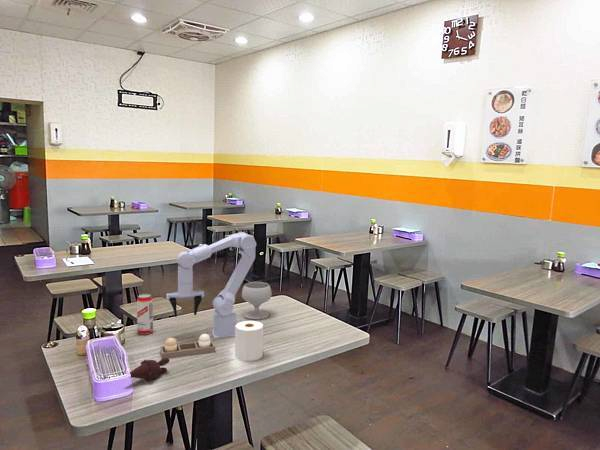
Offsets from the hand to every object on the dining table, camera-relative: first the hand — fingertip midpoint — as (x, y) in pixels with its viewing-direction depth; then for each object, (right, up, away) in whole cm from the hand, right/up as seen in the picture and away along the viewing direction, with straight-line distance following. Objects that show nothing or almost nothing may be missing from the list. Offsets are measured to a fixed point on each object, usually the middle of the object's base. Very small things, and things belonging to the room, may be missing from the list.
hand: (185, 315), depth 176 cm
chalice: (+25, -7, +32) cm, 41 cm away
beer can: (-19, -9, +8) cm, 22 cm away
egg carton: (+4, -12, -11) cm, 17 cm away
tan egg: (-2, -12, -13) cm, 18 cm away
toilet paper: (+27, -13, -12) cm, 32 cm away
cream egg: (+10, -11, -9) cm, 17 cm away
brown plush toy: (-4, -15, -32) cm, 35 cm away
